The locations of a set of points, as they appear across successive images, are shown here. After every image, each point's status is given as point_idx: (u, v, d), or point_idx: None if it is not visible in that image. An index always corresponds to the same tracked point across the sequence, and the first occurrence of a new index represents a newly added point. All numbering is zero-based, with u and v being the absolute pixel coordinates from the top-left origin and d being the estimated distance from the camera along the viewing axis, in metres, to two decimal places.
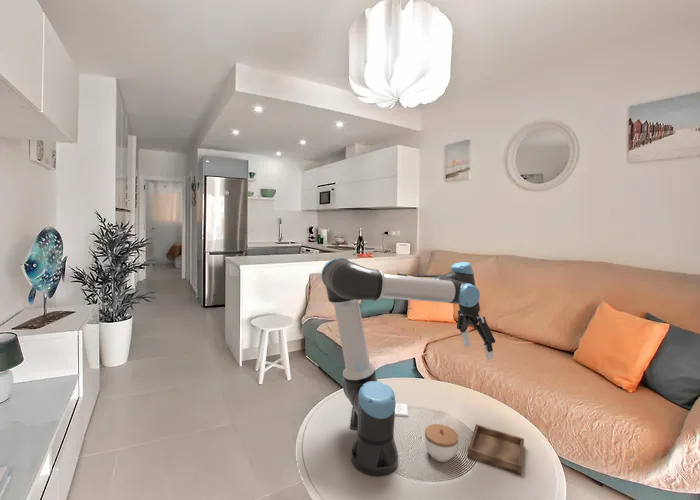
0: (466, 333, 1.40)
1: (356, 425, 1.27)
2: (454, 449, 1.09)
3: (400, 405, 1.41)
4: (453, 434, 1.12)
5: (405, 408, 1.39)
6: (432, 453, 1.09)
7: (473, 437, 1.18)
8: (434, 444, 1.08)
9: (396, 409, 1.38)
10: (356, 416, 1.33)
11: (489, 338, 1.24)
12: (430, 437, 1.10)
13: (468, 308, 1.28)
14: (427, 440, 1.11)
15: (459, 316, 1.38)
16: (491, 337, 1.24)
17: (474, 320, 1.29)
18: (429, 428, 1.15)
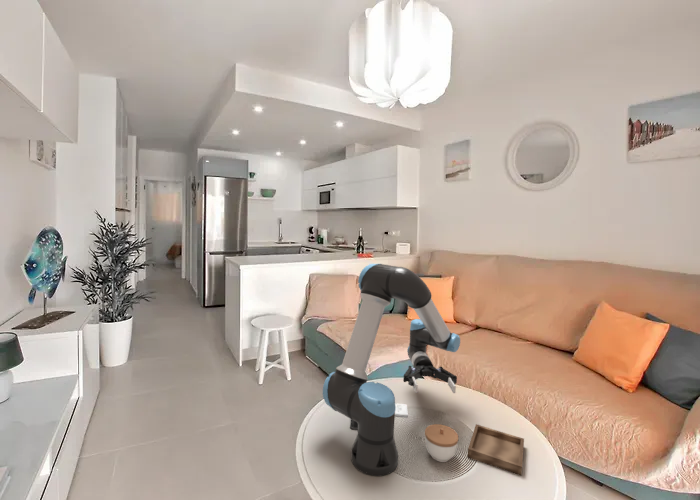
0: None
1: (356, 425, 1.27)
2: (454, 449, 1.09)
3: (400, 405, 1.41)
4: (453, 434, 1.12)
5: (405, 408, 1.39)
6: (432, 453, 1.09)
7: (473, 437, 1.18)
8: (434, 444, 1.08)
9: (396, 409, 1.38)
10: None
11: None
12: (430, 437, 1.10)
13: (430, 360, 1.41)
14: (427, 440, 1.11)
15: (410, 368, 1.35)
16: None
17: (433, 368, 1.36)
18: (429, 428, 1.15)
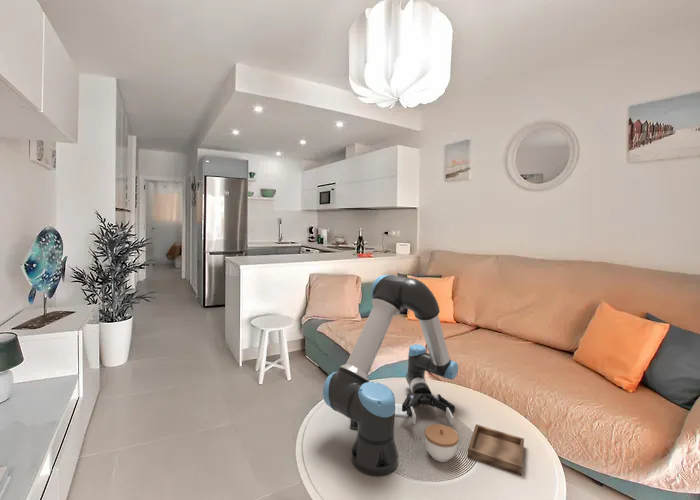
0: None
1: (356, 425, 1.27)
2: (454, 449, 1.09)
3: (400, 405, 1.41)
4: (453, 434, 1.12)
5: None
6: (432, 453, 1.09)
7: (473, 437, 1.18)
8: (434, 444, 1.08)
9: (396, 409, 1.38)
10: None
11: None
12: (430, 437, 1.10)
13: (428, 387, 1.42)
14: (427, 440, 1.11)
15: (408, 397, 1.36)
16: None
17: None
18: (429, 428, 1.15)
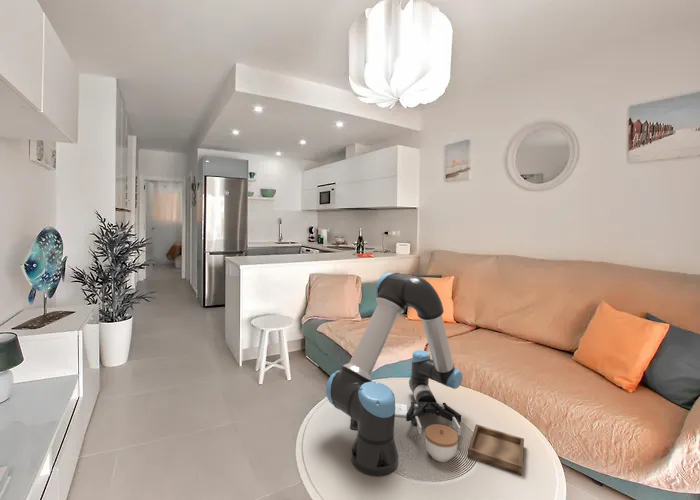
0: None
1: (356, 425, 1.27)
2: (454, 449, 1.09)
3: (400, 405, 1.41)
4: (453, 434, 1.12)
5: (405, 409, 1.39)
6: (432, 453, 1.09)
7: (473, 437, 1.18)
8: (434, 444, 1.08)
9: (396, 409, 1.38)
10: None
11: None
12: (430, 437, 1.10)
13: (433, 395, 1.37)
14: (427, 440, 1.11)
15: (413, 405, 1.30)
16: None
17: (437, 405, 1.32)
18: (429, 428, 1.15)
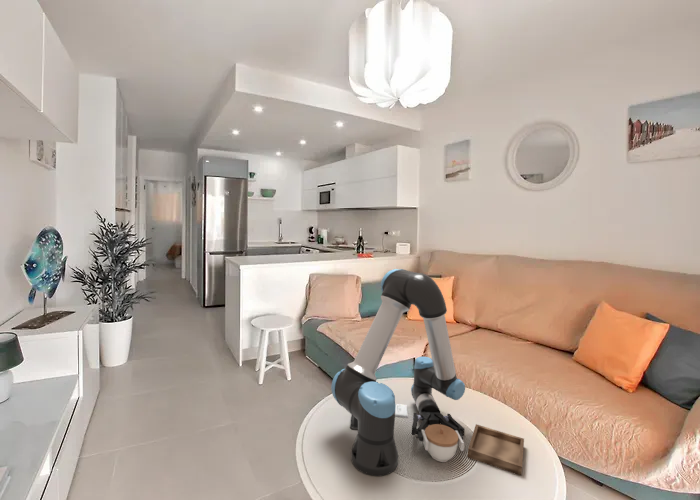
0: None
1: (356, 425, 1.27)
2: (454, 449, 1.09)
3: (400, 406, 1.41)
4: (453, 434, 1.12)
5: (405, 409, 1.39)
6: (432, 453, 1.09)
7: (473, 437, 1.18)
8: (434, 444, 1.08)
9: (396, 410, 1.38)
10: None
11: None
12: (430, 437, 1.10)
13: (436, 404, 1.29)
14: None
15: (416, 416, 1.22)
16: None
17: (441, 415, 1.24)
18: (429, 428, 1.15)
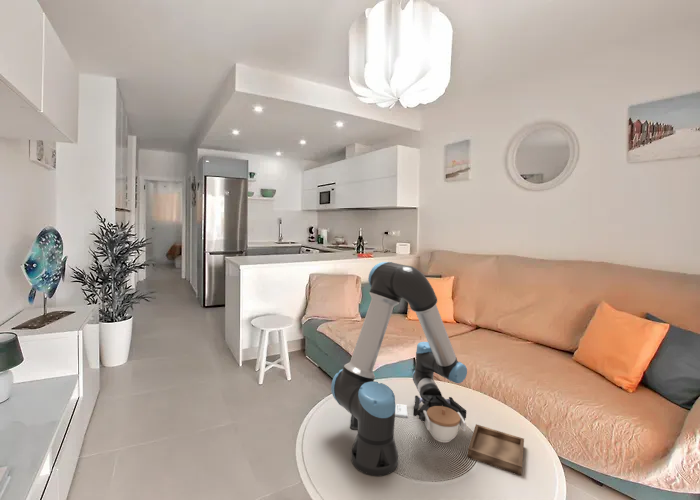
0: None
1: (356, 425, 1.27)
2: (456, 429, 1.08)
3: (400, 406, 1.41)
4: (455, 415, 1.12)
5: (405, 409, 1.39)
6: (434, 433, 1.09)
7: (473, 437, 1.18)
8: (436, 424, 1.08)
9: (395, 410, 1.38)
10: None
11: None
12: (432, 417, 1.10)
13: (438, 388, 1.29)
14: None
15: (418, 399, 1.22)
16: None
17: (442, 398, 1.24)
18: (431, 409, 1.14)
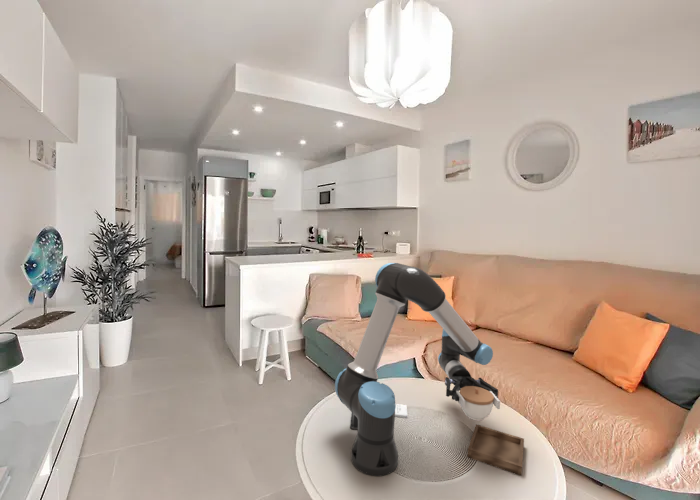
0: None
1: (356, 425, 1.27)
2: (490, 407, 1.10)
3: (400, 406, 1.41)
4: (488, 394, 1.14)
5: (405, 409, 1.39)
6: (468, 412, 1.11)
7: (473, 437, 1.18)
8: (471, 403, 1.10)
9: (395, 410, 1.38)
10: None
11: None
12: (466, 396, 1.12)
13: None
14: None
15: (448, 380, 1.24)
16: None
17: (472, 379, 1.26)
18: (463, 389, 1.16)
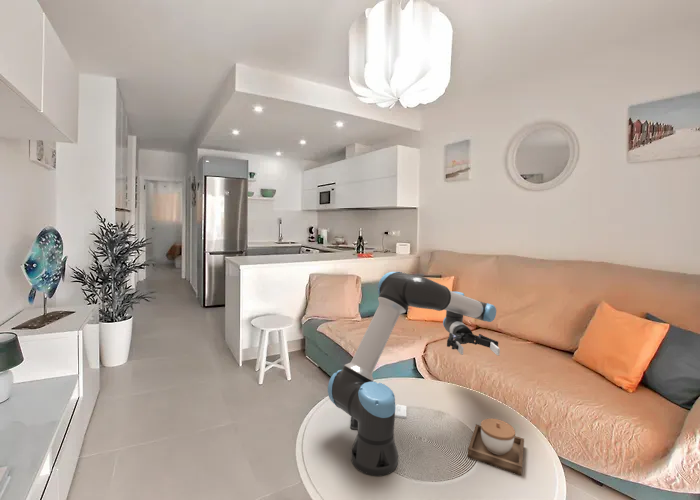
0: None
1: (356, 425, 1.27)
2: (512, 442, 1.11)
3: (399, 406, 1.40)
4: (509, 428, 1.15)
5: (404, 410, 1.38)
6: (490, 446, 1.12)
7: (473, 437, 1.18)
8: (492, 437, 1.11)
9: (395, 410, 1.37)
10: None
11: None
12: (487, 430, 1.13)
13: None
14: (484, 433, 1.14)
15: (451, 335, 1.40)
16: None
17: None
18: (484, 422, 1.18)
